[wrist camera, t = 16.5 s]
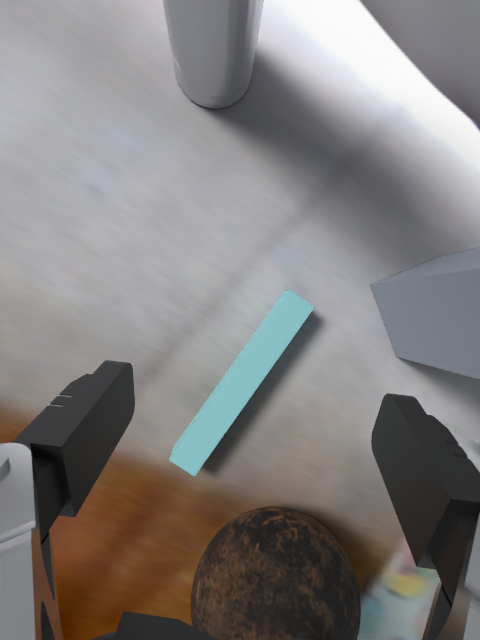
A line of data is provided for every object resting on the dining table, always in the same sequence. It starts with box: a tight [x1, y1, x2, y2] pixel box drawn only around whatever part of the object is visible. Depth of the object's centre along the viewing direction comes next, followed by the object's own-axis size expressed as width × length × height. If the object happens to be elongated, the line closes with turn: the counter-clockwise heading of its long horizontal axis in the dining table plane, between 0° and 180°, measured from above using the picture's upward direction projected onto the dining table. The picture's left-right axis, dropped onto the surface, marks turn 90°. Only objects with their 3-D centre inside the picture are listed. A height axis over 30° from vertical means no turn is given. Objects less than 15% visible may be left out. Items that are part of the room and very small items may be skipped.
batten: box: [169, 290, 314, 476], centre depth 39 cm, size 4×24×4 cm, turn 144°
